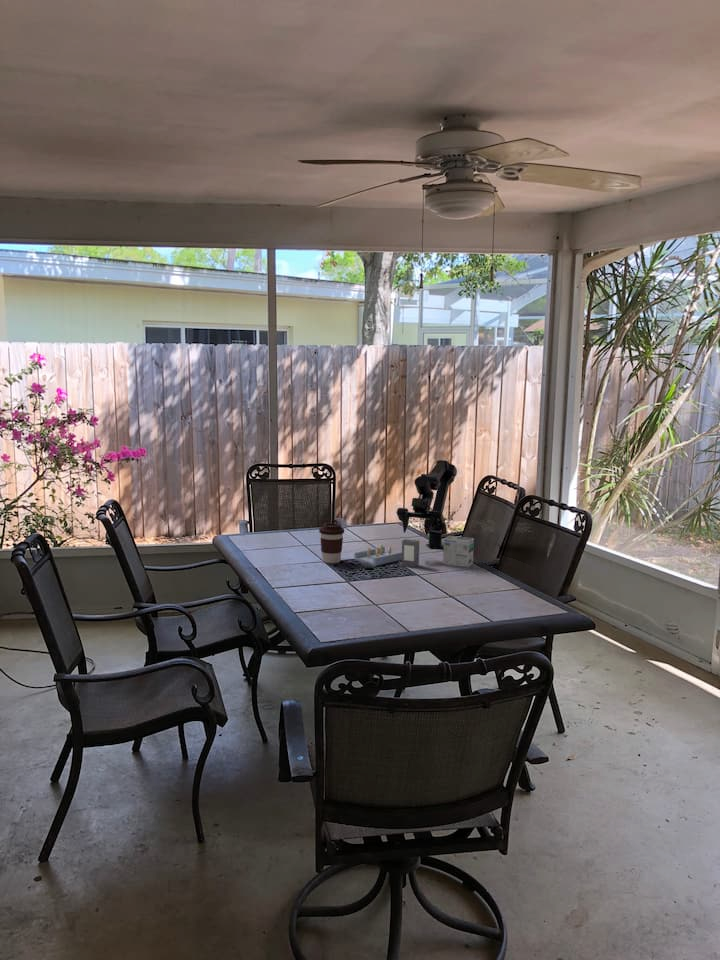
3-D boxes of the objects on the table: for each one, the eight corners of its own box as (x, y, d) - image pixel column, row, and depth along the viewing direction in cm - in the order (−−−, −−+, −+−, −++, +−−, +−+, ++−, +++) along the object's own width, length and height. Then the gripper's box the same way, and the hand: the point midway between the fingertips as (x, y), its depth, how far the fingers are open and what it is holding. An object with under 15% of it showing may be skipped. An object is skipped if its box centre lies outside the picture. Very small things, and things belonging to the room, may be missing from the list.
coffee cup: (327, 565, 297) (328, 528, 294) (314, 560, 304) (314, 523, 302) (348, 562, 302) (349, 525, 300) (334, 557, 310) (335, 521, 308)
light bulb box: (473, 564, 304) (474, 537, 302) (468, 568, 297) (469, 541, 296) (447, 560, 308) (448, 534, 306) (442, 564, 302) (443, 538, 300)
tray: (382, 553, 317) (383, 541, 317) (403, 559, 309) (403, 547, 308) (354, 559, 307) (354, 547, 306) (375, 565, 298) (375, 553, 297)
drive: (404, 563, 302) (405, 539, 301) (418, 565, 300) (419, 540, 298) (401, 565, 299) (402, 541, 297) (415, 567, 297) (416, 542, 295)
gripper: (398, 488, 308) (388, 519, 300) (443, 491, 301) (434, 524, 293) (404, 504, 317) (394, 535, 308) (447, 508, 310) (439, 540, 301)
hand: (415, 533), depth 302 cm, fingers open, 9 cm apart
